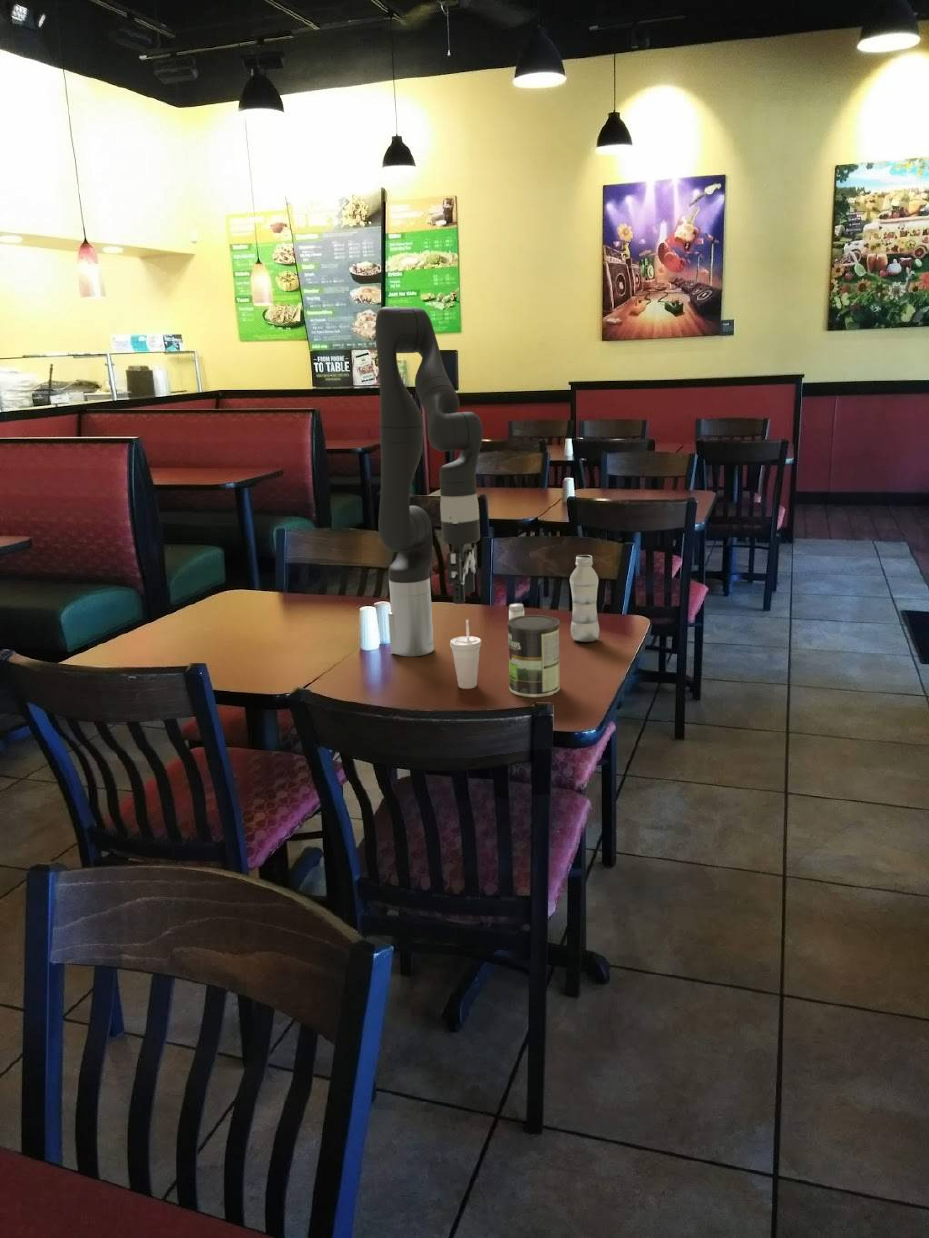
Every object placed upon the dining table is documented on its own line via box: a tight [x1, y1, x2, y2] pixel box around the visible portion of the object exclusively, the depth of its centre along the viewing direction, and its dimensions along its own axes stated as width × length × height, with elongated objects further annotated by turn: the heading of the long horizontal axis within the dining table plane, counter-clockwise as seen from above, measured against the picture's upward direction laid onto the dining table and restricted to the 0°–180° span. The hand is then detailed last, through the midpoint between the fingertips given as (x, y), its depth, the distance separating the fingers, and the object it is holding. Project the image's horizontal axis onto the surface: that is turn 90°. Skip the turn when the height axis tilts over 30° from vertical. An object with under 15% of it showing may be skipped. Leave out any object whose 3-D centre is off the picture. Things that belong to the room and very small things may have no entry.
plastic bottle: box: [569, 554, 600, 643], centre depth 214 cm, size 6×7×20 cm
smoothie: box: [449, 619, 482, 690], centre depth 189 cm, size 6×6×14 cm
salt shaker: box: [508, 603, 525, 621], centre depth 220 cm, size 4×4×8 cm
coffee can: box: [506, 614, 561, 698], centre depth 186 cm, size 10×10×14 cm
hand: (464, 597), depth 186 cm, fingers open, 8 cm apart
